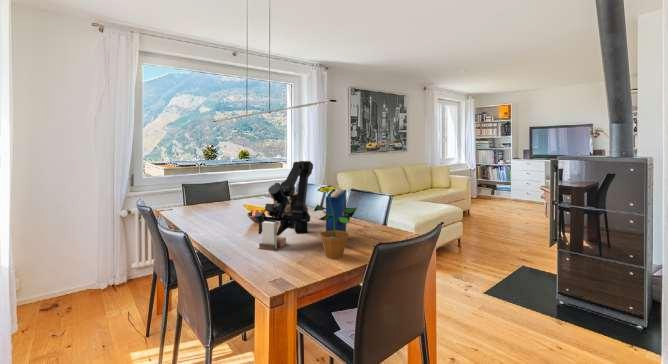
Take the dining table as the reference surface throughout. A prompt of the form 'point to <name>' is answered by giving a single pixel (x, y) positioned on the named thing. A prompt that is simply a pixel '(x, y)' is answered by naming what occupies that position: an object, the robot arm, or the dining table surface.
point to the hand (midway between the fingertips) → (268, 234)
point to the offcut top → (281, 239)
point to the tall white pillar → (269, 233)
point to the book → (336, 209)
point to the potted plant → (334, 238)
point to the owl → (289, 206)
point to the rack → (269, 246)
